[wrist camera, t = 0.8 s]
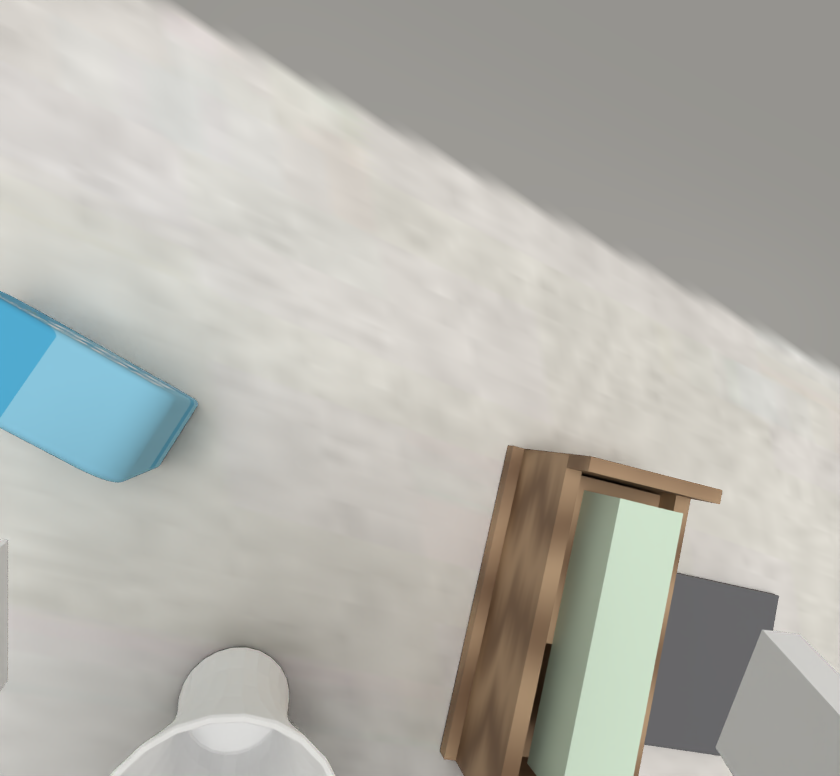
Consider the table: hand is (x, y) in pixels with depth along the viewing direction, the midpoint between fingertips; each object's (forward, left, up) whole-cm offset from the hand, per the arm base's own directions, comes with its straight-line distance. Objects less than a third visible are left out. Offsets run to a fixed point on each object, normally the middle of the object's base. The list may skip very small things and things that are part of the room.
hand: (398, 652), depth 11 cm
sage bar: (-14, -12, -24) cm, 30 cm away
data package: (+10, +9, -30) cm, 33 cm away
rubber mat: (-23, -21, -30) cm, 43 cm away
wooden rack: (-15, -12, -30) cm, 35 cm away
